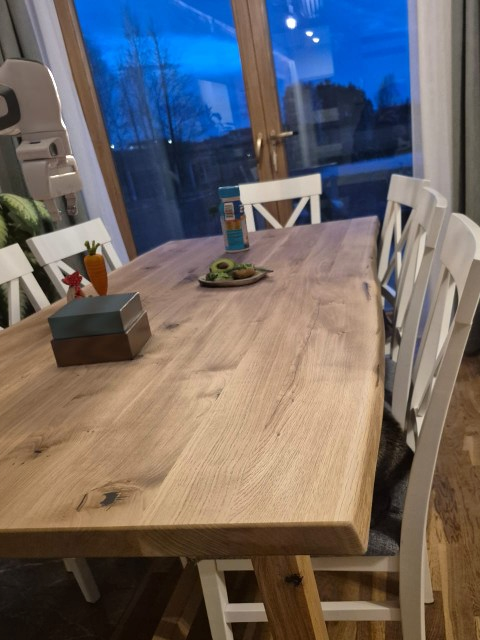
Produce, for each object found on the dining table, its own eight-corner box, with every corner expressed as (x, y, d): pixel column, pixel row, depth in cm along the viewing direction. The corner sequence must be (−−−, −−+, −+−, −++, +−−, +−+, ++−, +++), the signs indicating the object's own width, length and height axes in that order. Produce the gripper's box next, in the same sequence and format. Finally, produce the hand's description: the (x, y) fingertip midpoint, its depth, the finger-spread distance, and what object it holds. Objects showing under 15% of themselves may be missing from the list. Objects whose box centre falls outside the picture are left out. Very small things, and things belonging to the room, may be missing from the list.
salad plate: (285, 270, 158) (283, 253, 156) (258, 287, 143) (256, 269, 141) (223, 271, 165) (220, 255, 163) (191, 288, 150) (187, 270, 148)
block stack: (57, 367, 105) (43, 319, 101) (84, 341, 117) (72, 298, 114) (133, 359, 104) (121, 311, 100) (151, 334, 117) (141, 290, 113)
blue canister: (220, 252, 193) (210, 188, 184) (240, 247, 198) (231, 185, 189) (235, 254, 187) (225, 188, 179) (255, 248, 192) (246, 184, 184)
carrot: (105, 295, 153) (91, 237, 146) (117, 296, 150) (103, 237, 144) (89, 300, 149) (74, 241, 143) (101, 302, 146) (86, 242, 140)
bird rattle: (98, 328, 133) (104, 302, 139) (80, 289, 124) (87, 264, 130) (71, 331, 133) (78, 305, 139) (51, 292, 125) (60, 267, 131)
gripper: (53, 148, 129) (68, 212, 134) (11, 151, 110) (31, 226, 116) (80, 145, 128) (95, 210, 134) (43, 148, 110) (62, 223, 116)
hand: (65, 217), depth 125 cm, fingers open, 8 cm apart
